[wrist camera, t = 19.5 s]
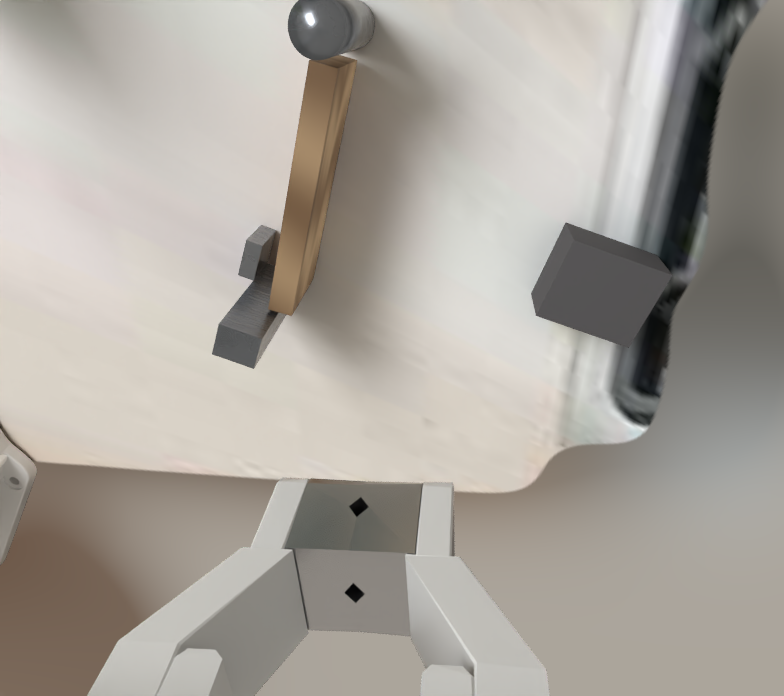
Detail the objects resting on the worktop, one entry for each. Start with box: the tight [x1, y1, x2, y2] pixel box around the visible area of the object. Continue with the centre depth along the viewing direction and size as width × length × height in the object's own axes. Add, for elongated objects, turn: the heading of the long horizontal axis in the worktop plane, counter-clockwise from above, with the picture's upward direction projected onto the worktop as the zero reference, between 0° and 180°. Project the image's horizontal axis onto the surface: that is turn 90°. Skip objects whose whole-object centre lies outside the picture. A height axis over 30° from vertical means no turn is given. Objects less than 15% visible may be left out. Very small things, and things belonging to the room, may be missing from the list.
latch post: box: [212, 225, 287, 369], centre depth 36 cm, size 4×3×9 cm
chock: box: [531, 223, 673, 348], centre depth 37 cm, size 5×6×4 cm
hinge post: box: [288, 0, 375, 60], centre depth 29 cm, size 2×2×9 cm
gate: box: [268, 55, 357, 316], centre depth 34 cm, size 13×1×6 cm, turn 166°
